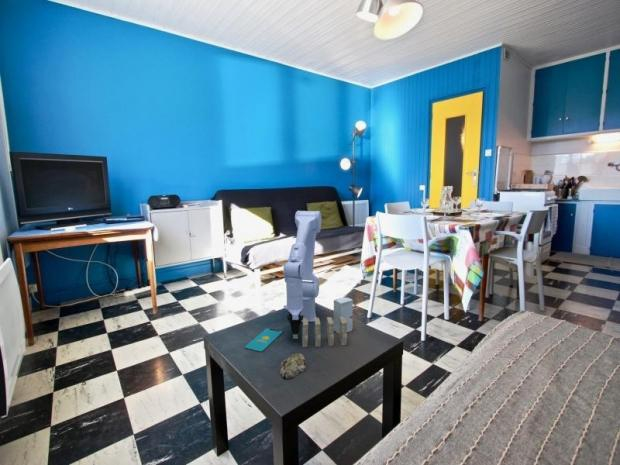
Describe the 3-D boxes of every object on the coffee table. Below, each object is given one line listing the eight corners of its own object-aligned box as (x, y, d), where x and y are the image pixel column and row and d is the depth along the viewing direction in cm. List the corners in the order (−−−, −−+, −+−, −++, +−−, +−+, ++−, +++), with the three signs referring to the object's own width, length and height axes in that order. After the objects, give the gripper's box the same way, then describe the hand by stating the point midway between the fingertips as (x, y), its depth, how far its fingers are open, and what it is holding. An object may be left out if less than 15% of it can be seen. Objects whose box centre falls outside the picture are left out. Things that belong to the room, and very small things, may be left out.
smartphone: (243, 347, 103) (266, 327, 117) (243, 349, 103) (266, 329, 117) (262, 351, 100) (283, 331, 114) (262, 354, 100) (283, 333, 114)
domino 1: (293, 338, 109) (292, 317, 108) (293, 332, 114) (292, 311, 113) (297, 338, 109) (297, 317, 108) (297, 331, 114) (296, 311, 113)
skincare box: (340, 335, 111) (340, 303, 110) (332, 330, 115) (332, 299, 113) (353, 330, 115) (353, 299, 113) (345, 325, 119) (345, 296, 117)
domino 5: (342, 345, 105) (342, 323, 103) (339, 337, 109) (339, 316, 108) (346, 344, 105) (346, 322, 103) (343, 337, 110) (344, 316, 108)
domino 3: (315, 346, 104) (315, 324, 103) (314, 339, 109) (314, 317, 108) (320, 346, 104) (320, 324, 103) (318, 338, 109) (318, 317, 108)
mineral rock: (285, 350, 98) (308, 348, 95) (289, 363, 98) (312, 361, 95) (270, 371, 88) (294, 369, 85) (274, 384, 88) (299, 383, 85)
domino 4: (329, 345, 104) (328, 323, 103) (327, 338, 109) (327, 317, 108) (333, 345, 104) (333, 323, 103) (331, 338, 109) (331, 317, 108)
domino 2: (302, 346, 104) (303, 324, 102) (301, 339, 108) (302, 318, 107) (307, 346, 104) (308, 324, 102) (306, 339, 109) (307, 318, 107)
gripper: (283, 287, 116) (284, 321, 118) (283, 302, 102) (284, 340, 104) (302, 287, 117) (302, 320, 119) (304, 301, 102) (304, 339, 104)
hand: (295, 330), depth 111 cm, fingers closed on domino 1, 5 cm apart
